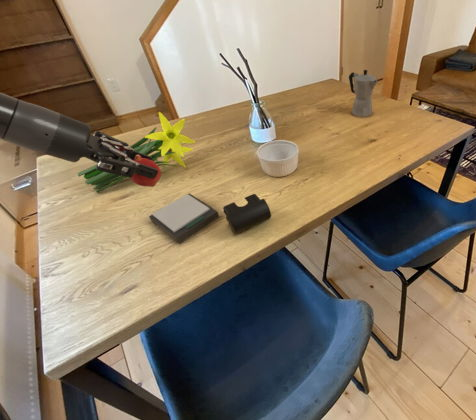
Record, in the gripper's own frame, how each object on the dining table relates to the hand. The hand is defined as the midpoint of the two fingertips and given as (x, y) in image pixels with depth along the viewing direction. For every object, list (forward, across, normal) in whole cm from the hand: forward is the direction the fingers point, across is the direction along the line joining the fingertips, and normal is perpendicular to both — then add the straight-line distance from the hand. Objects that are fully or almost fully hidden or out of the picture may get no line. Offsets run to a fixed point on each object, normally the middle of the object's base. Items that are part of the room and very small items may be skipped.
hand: (152, 167), depth 60 cm
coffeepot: (+73, +25, -48) cm, 91 cm away
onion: (+2, 0, +4) cm, 5 cm away
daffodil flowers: (+11, +29, +15) cm, 34 cm away
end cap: (+23, -11, +2) cm, 26 cm away
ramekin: (+37, +8, -11) cm, 39 cm away
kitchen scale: (+14, +2, +12) cm, 18 cm away
